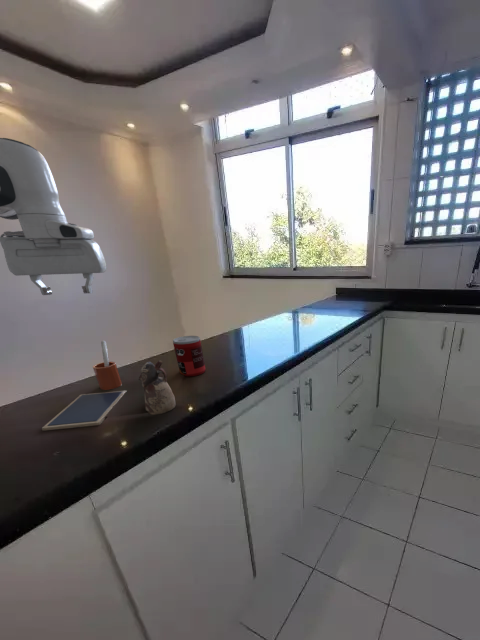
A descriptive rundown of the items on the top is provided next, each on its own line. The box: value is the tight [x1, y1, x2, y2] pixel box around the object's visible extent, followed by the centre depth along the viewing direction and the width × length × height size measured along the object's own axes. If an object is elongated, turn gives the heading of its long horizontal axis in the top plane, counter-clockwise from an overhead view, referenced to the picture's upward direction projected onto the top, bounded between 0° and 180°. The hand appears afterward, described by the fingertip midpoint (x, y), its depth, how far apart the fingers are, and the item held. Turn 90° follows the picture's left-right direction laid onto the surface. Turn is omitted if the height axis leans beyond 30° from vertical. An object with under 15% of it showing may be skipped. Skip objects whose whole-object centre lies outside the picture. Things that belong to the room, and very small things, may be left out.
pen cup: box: [92, 361, 123, 391], centre depth 89 cm, size 6×6×7 cm
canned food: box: [172, 335, 207, 378], centre depth 97 cm, size 8×8×11 cm
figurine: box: [138, 359, 177, 416], centre depth 74 cm, size 7×7×12 cm
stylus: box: [100, 340, 110, 367], centre depth 89 cm, size 1×1×13 cm
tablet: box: [41, 390, 127, 431], centre depth 77 cm, size 12×18×1 cm, turn 8°
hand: (68, 294), depth 77 cm, fingers open, 8 cm apart
